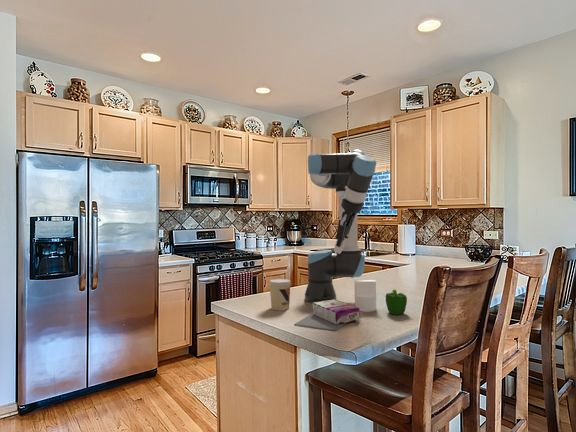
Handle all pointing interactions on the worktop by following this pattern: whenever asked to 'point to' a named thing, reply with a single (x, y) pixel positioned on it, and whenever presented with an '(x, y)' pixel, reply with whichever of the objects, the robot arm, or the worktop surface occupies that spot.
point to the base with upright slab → (365, 295)
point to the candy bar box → (336, 311)
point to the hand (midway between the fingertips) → (337, 251)
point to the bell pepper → (396, 302)
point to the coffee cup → (280, 293)
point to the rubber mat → (318, 323)
